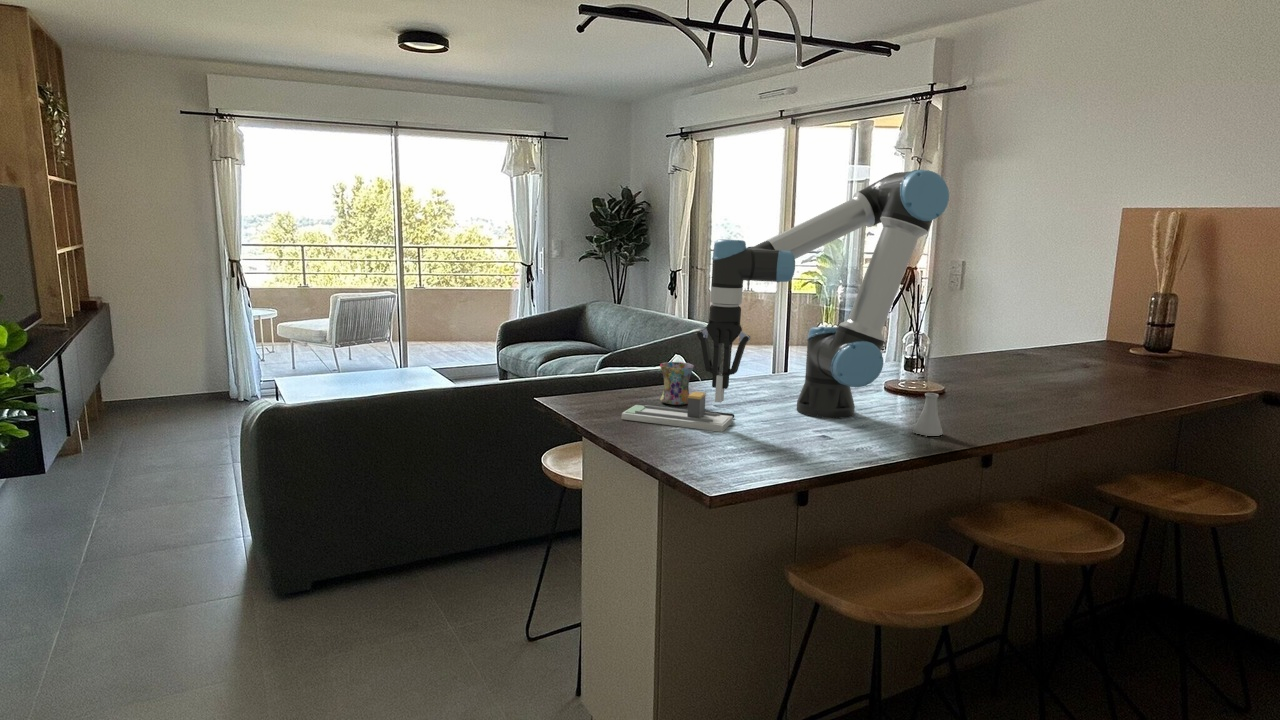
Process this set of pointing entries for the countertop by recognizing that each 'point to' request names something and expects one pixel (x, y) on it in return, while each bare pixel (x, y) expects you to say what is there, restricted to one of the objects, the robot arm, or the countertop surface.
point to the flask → (929, 418)
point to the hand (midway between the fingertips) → (719, 401)
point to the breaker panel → (677, 417)
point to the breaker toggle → (696, 404)
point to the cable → (712, 412)
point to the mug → (676, 382)
